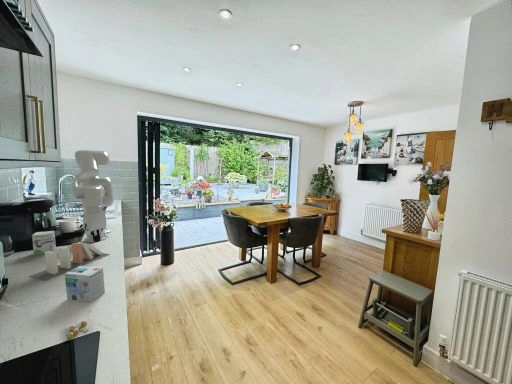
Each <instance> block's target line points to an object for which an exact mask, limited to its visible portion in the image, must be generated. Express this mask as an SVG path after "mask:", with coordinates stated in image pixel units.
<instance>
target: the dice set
mask: <svg viewBox="0 0 512 384" xmlns="http://www.w3.org/2000/svg"><path fill="white" fill-rule="evenodd" d="M87 325H88V322H87V320H86V319H85V320H83V321H81V322H80V327H81V328H80V329H79V327H77V326H76V325H75V324H73V325H71V326H70V327H69V333H67V334H66V340H67V341H70V340H72V339H74V337H75V336H76V335H78V334H80V332H81V331H82V332H83V333H87V332H88V331H89V328H86V326H87ZM79 331H80V332H79Z"/></svg>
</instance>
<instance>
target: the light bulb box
mask: <svg viewBox="0 0 512 384" xmlns="http://www.w3.org/2000/svg"><path fill="white" fill-rule="evenodd" d="M64 278H65V279H64V280H65V281H64V282H65V290H66V291H65V292H66V299H67V300H70V301H76V302H84V303H90V304H91V303H92V302H94V301H95V300H97V299H98V298H99V297H101V296H102V295H104V294H105V293H106V292H105V278H104V268H103V267H99V266H97V267H96V266H88V265H84V266H79V267H77V268H75V269H73V270H71V271H69V272H67V273H64Z"/></svg>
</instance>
